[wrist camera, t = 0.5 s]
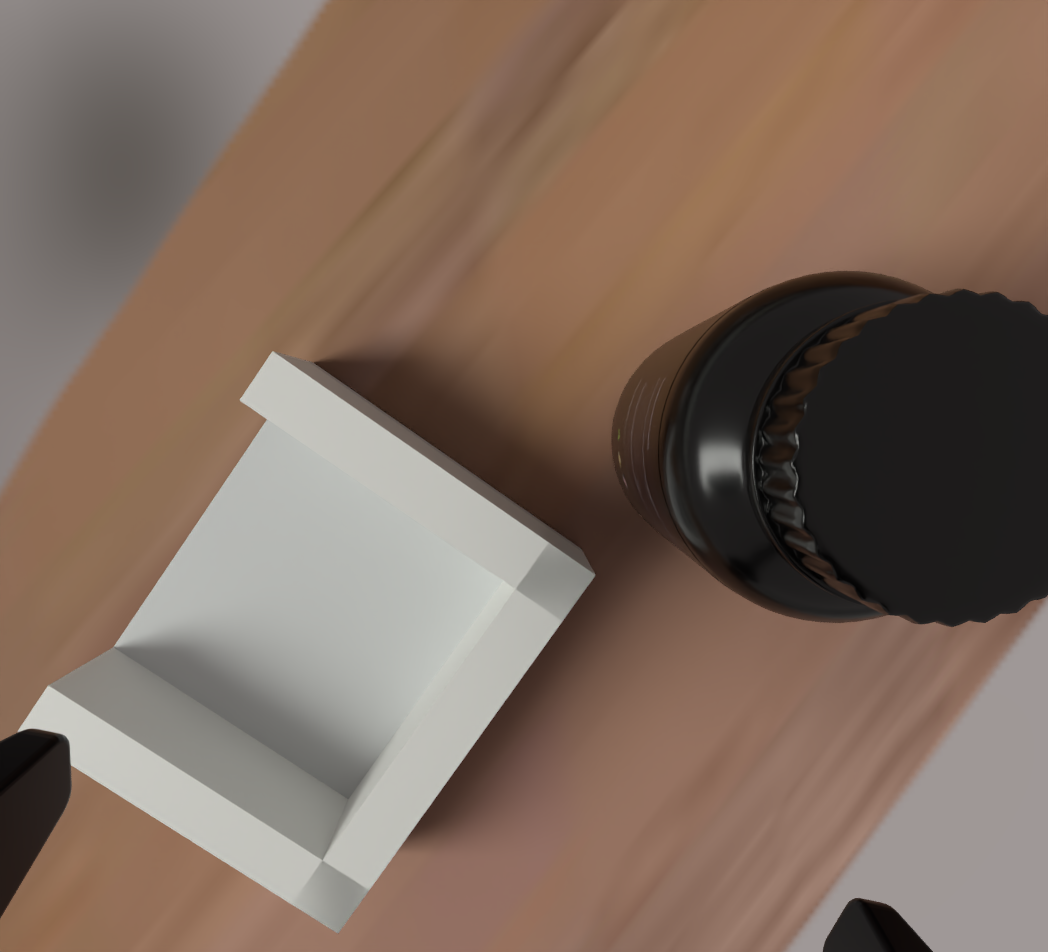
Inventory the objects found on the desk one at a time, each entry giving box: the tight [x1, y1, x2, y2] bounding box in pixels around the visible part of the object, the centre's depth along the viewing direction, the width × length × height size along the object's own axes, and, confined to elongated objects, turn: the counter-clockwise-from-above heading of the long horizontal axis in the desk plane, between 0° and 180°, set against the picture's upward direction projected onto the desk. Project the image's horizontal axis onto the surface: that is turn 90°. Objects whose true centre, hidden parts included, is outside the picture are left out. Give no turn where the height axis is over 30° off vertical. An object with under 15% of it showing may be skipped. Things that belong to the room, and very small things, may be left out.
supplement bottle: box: [611, 271, 1048, 627], centre depth 16 cm, size 7×7×12 cm
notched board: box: [18, 351, 595, 933], centre depth 20 cm, size 10×12×4 cm
